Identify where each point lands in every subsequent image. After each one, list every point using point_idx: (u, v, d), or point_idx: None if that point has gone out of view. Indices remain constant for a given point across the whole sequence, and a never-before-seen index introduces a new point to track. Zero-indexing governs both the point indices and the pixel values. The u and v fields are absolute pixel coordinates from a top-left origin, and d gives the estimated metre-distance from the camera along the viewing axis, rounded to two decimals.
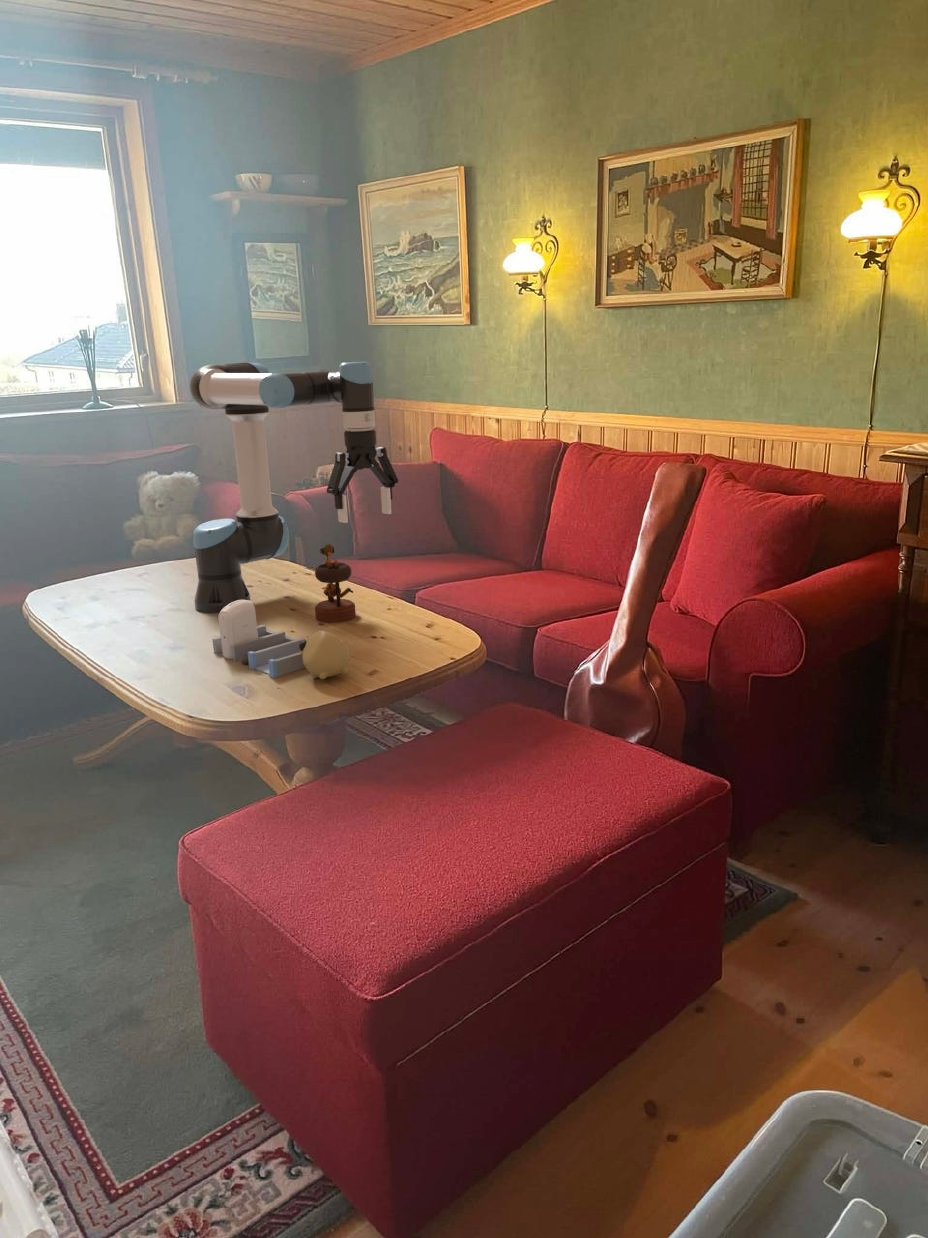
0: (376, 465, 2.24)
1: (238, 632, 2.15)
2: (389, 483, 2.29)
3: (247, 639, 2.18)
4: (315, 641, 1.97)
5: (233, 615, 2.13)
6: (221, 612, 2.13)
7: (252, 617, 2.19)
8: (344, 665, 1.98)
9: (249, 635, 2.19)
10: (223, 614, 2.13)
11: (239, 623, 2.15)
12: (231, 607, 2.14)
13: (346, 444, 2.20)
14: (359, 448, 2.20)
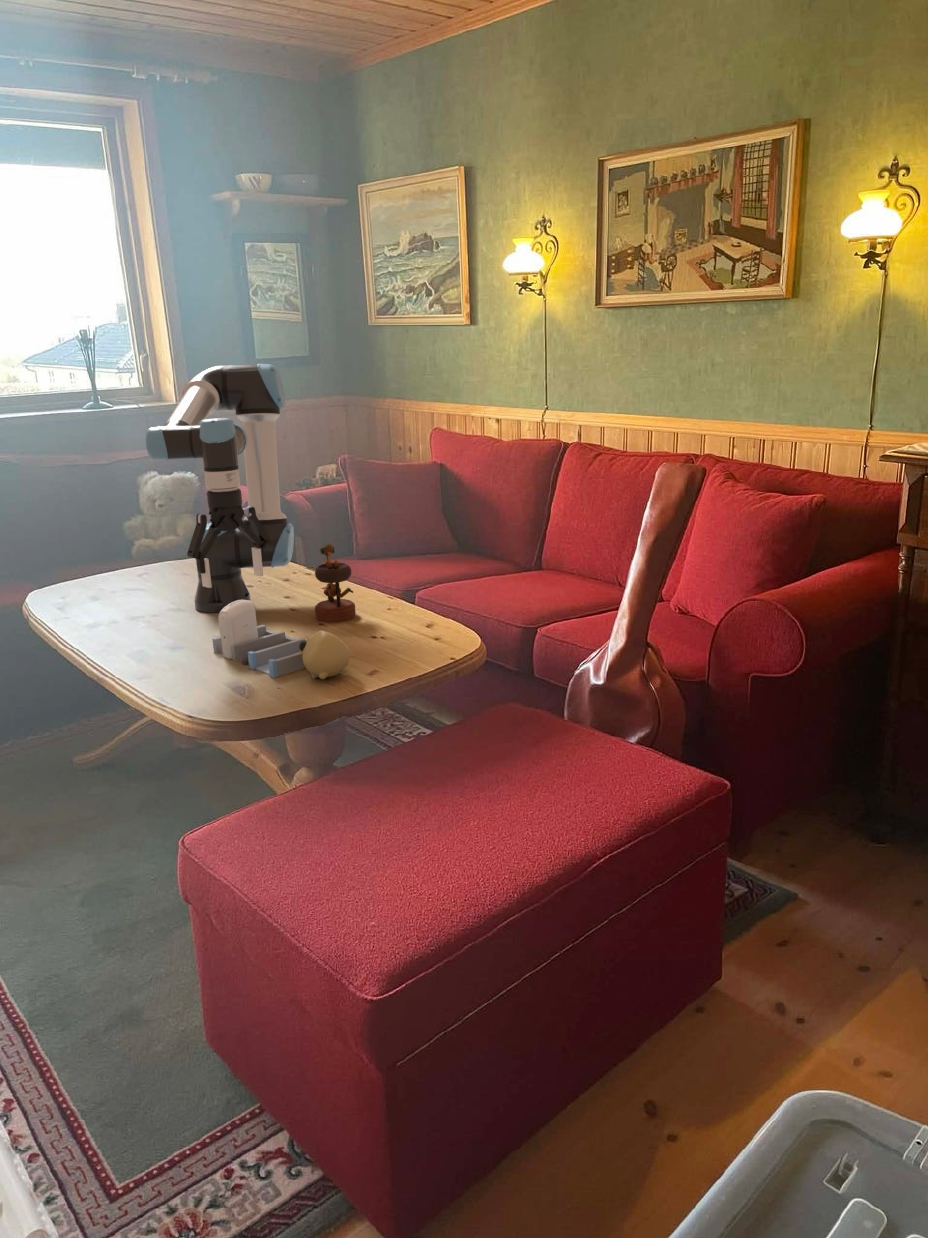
0: (243, 526, 2.12)
1: (238, 632, 2.15)
2: (260, 544, 2.17)
3: (247, 639, 2.18)
4: (315, 641, 1.97)
5: (233, 615, 2.13)
6: (221, 612, 2.13)
7: (252, 617, 2.19)
8: (344, 665, 1.98)
9: (249, 635, 2.19)
10: (223, 614, 2.13)
11: (239, 623, 2.15)
12: (231, 607, 2.14)
13: (208, 505, 2.08)
14: (223, 509, 2.08)
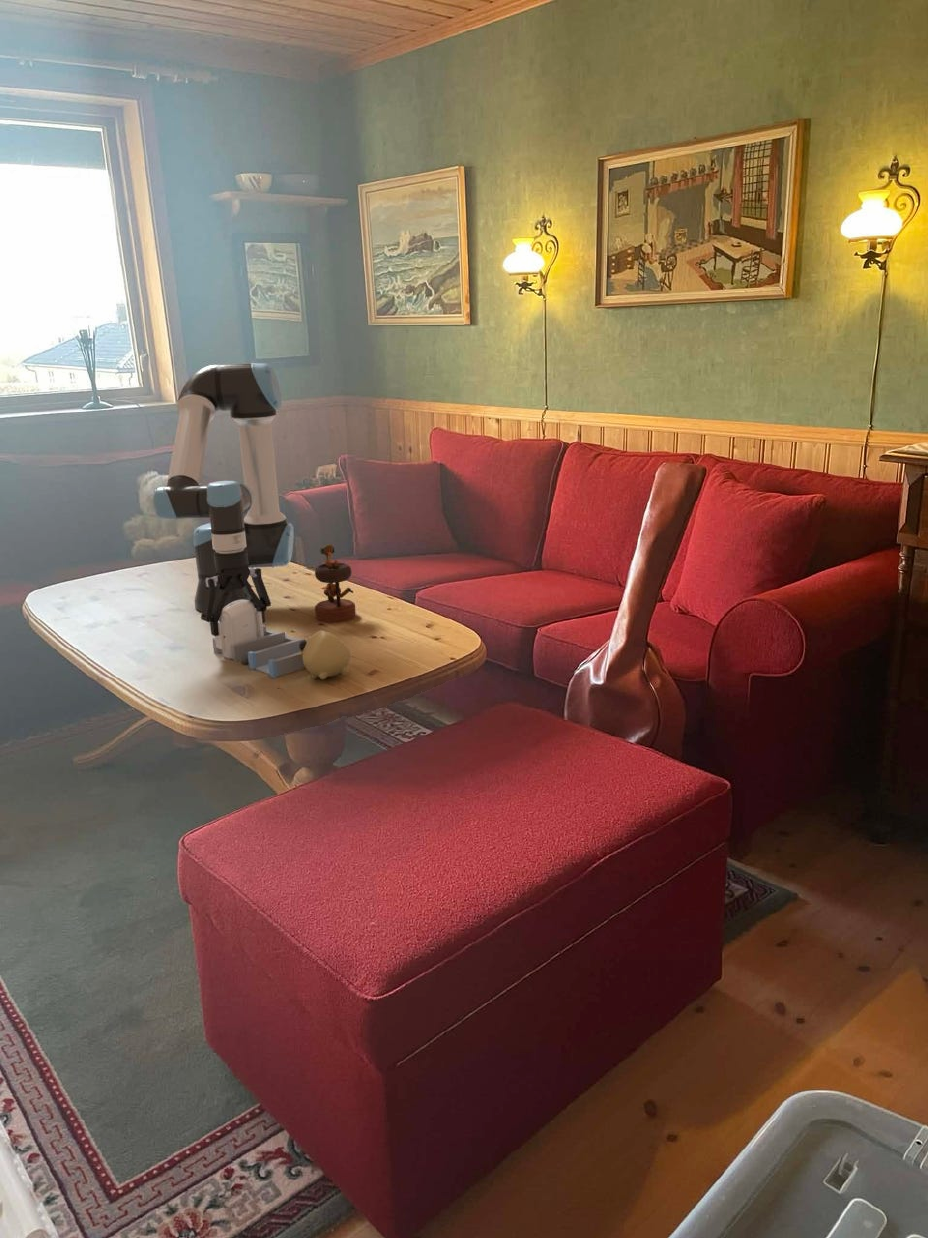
0: (248, 587, 2.16)
1: (238, 632, 2.15)
2: (260, 607, 2.20)
3: (247, 639, 2.18)
4: (315, 641, 1.97)
5: (233, 615, 2.13)
6: (221, 612, 2.13)
7: (252, 617, 2.19)
8: (344, 665, 1.98)
9: (249, 635, 2.19)
10: (223, 613, 2.13)
11: (239, 623, 2.15)
12: (231, 607, 2.14)
13: (215, 566, 2.12)
14: (229, 570, 2.12)
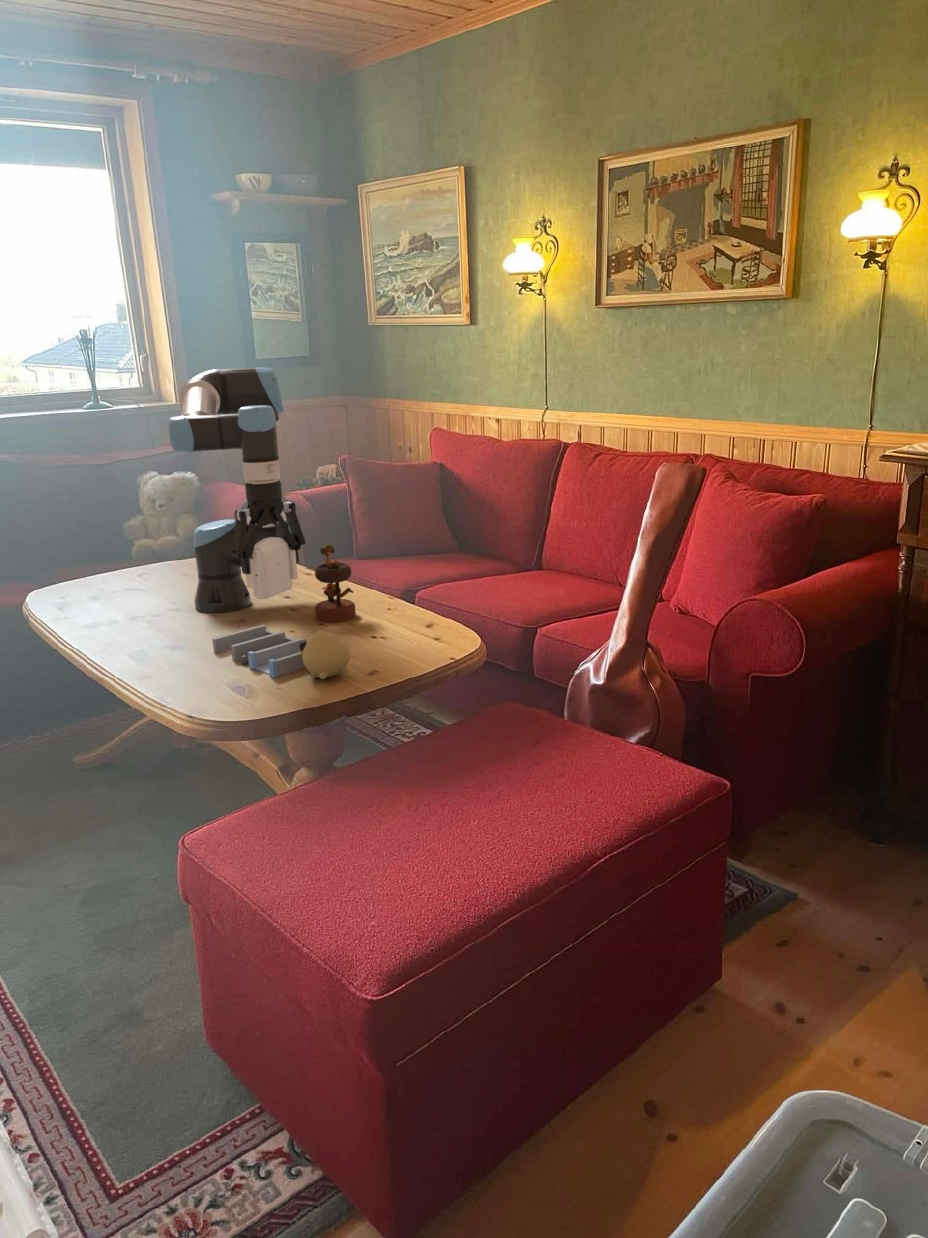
0: (281, 522, 2.00)
1: (271, 570, 1.99)
2: (294, 545, 2.04)
3: (280, 579, 2.02)
4: (315, 641, 1.97)
5: (266, 551, 1.97)
6: (253, 548, 1.97)
7: (286, 556, 2.03)
8: (344, 665, 1.98)
9: (282, 575, 2.02)
10: (255, 549, 1.97)
11: (272, 561, 1.99)
12: (264, 543, 1.98)
13: (247, 498, 1.96)
14: (262, 502, 1.96)
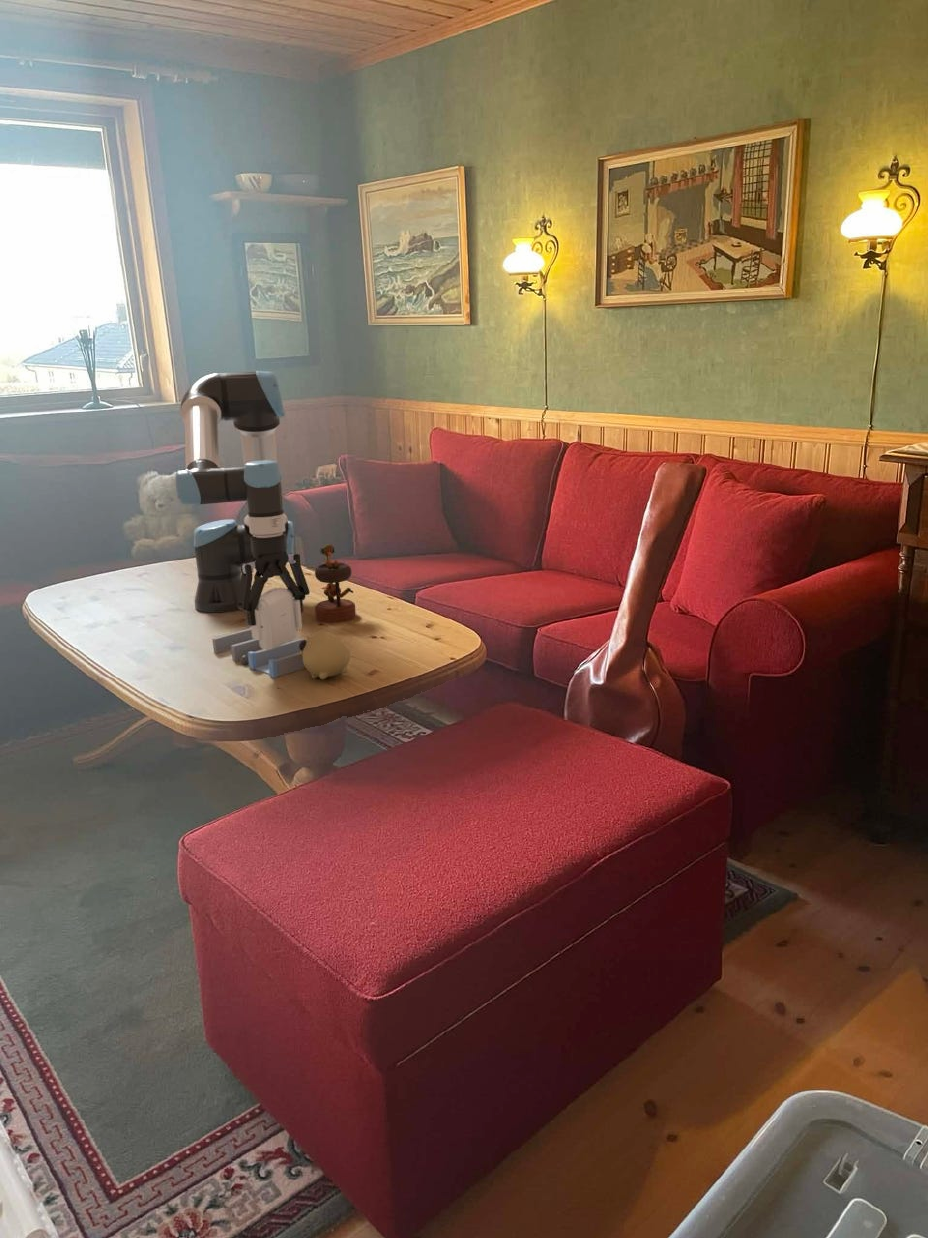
0: (286, 574, 2.03)
1: (276, 621, 2.02)
2: (299, 595, 2.07)
3: (285, 629, 2.05)
4: (315, 641, 1.97)
5: (271, 603, 2.00)
6: None
7: (290, 606, 2.06)
8: (344, 665, 1.98)
9: (287, 625, 2.06)
10: (261, 601, 2.00)
11: (277, 612, 2.02)
12: (269, 595, 2.01)
13: (253, 551, 1.99)
14: (267, 555, 2.00)
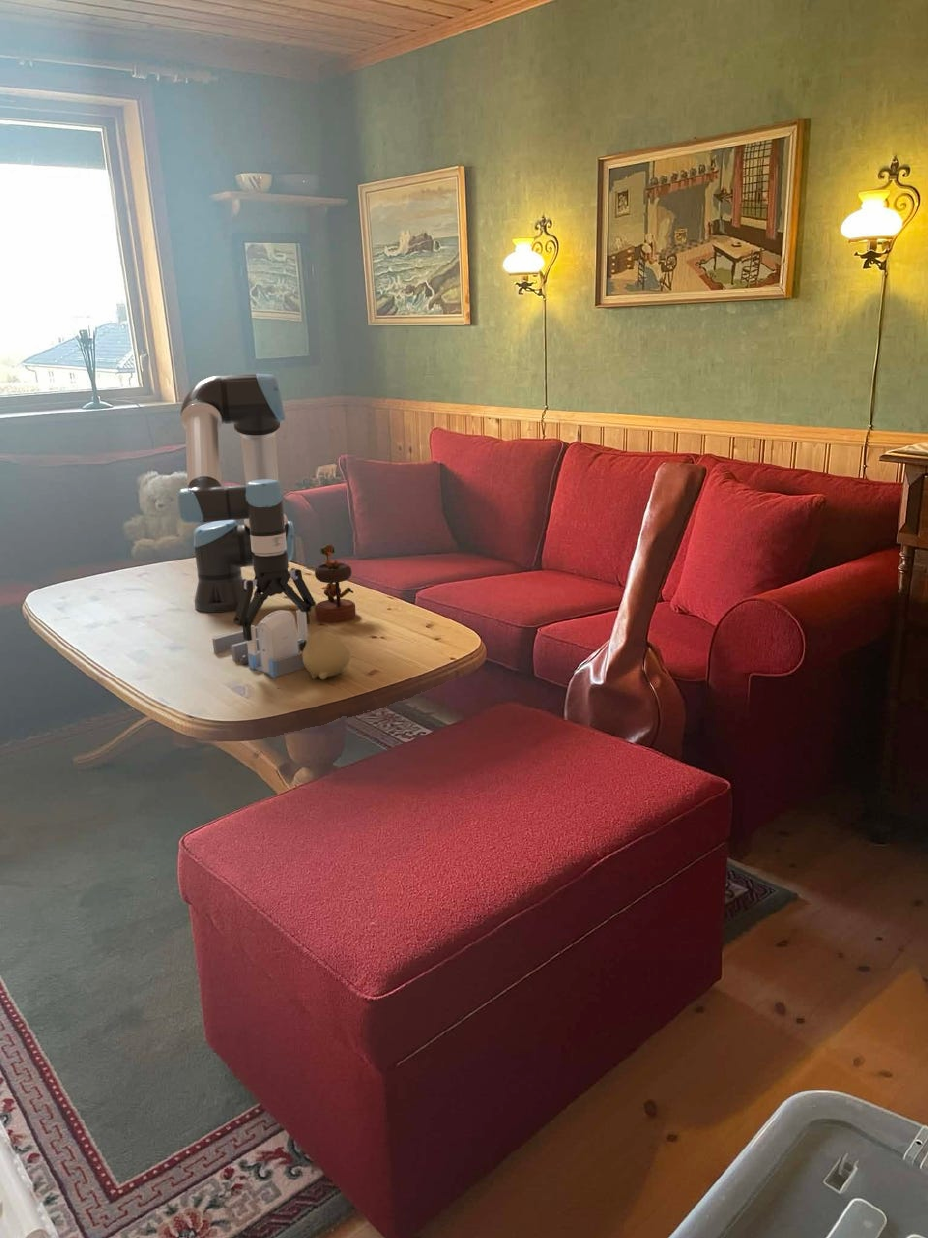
0: (289, 590, 2.04)
1: (278, 644, 2.04)
2: (305, 607, 2.09)
3: (287, 652, 2.07)
4: (315, 641, 1.97)
5: (273, 627, 2.02)
6: (260, 624, 2.02)
7: (292, 629, 2.08)
8: (344, 665, 1.98)
9: (289, 647, 2.07)
10: (263, 625, 2.01)
11: (279, 636, 2.04)
12: (270, 618, 2.02)
13: (254, 569, 2.00)
14: (269, 573, 2.01)
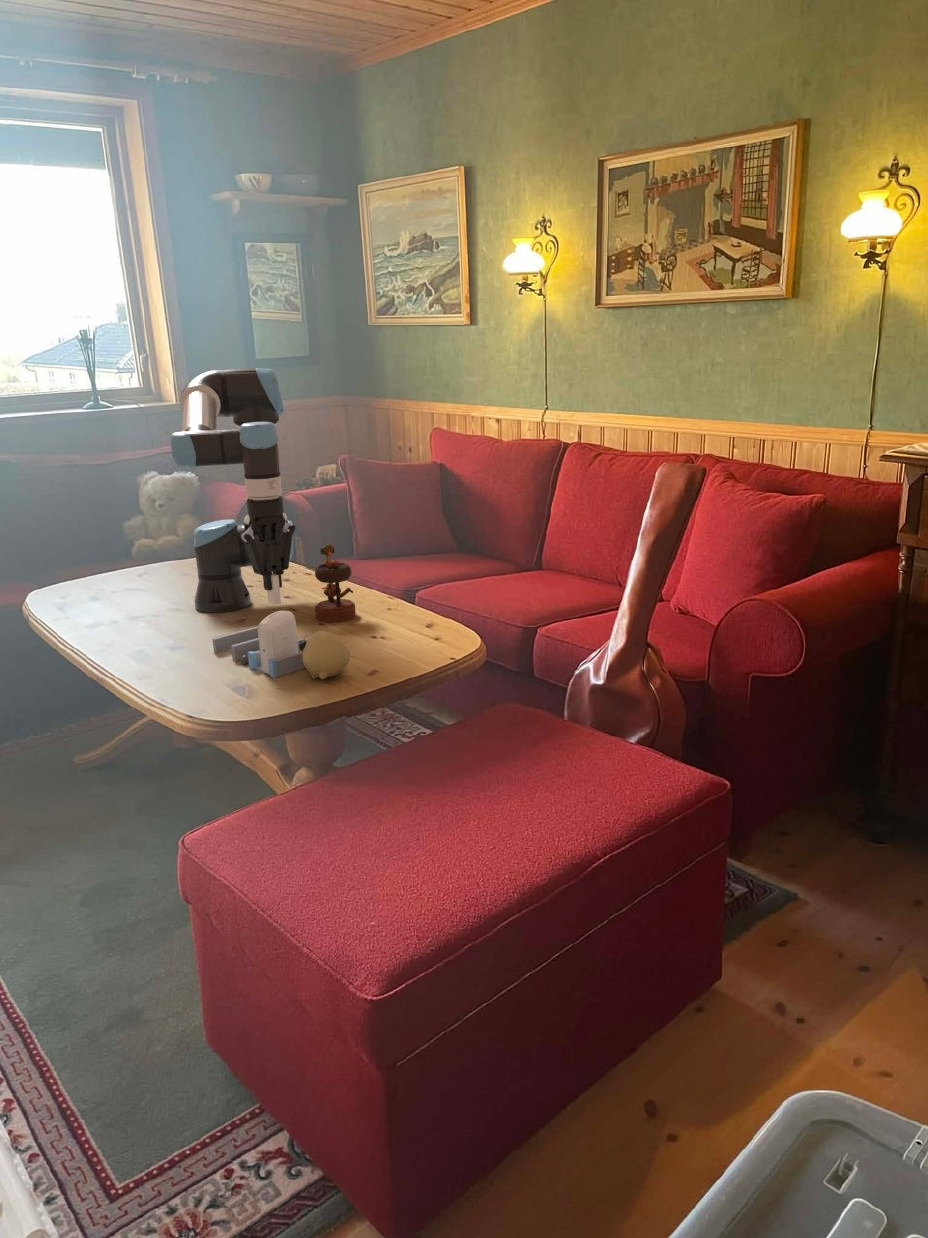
0: (277, 540, 2.00)
1: (278, 645, 2.03)
2: (278, 568, 2.02)
3: (287, 652, 2.07)
4: (315, 641, 1.97)
5: (273, 627, 2.02)
6: (261, 624, 2.02)
7: (293, 629, 2.08)
8: (344, 665, 1.98)
9: (289, 648, 2.07)
10: (263, 626, 2.01)
11: (279, 636, 2.04)
12: (271, 619, 2.02)
13: (249, 514, 1.97)
14: (264, 518, 1.97)
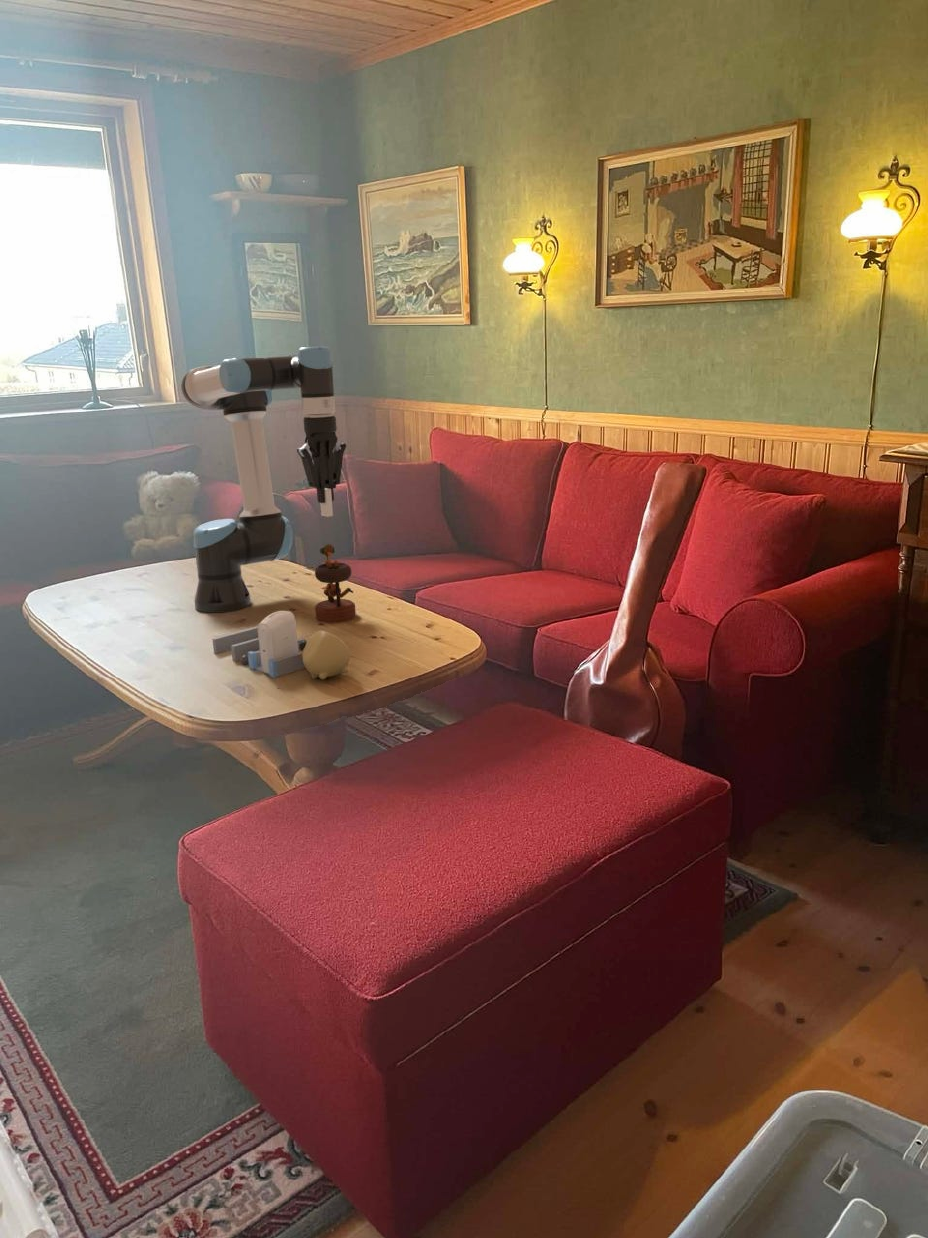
0: (330, 456, 2.19)
1: (278, 645, 2.03)
2: (331, 483, 2.22)
3: (287, 652, 2.07)
4: (315, 641, 1.97)
5: (273, 627, 2.02)
6: (261, 624, 2.02)
7: (293, 629, 2.08)
8: (344, 665, 1.98)
9: (289, 648, 2.07)
10: (263, 626, 2.01)
11: (279, 636, 2.04)
12: (271, 619, 2.02)
13: (305, 430, 2.16)
14: (319, 435, 2.17)
